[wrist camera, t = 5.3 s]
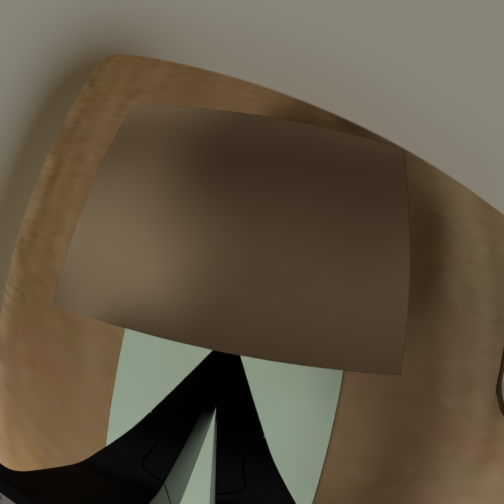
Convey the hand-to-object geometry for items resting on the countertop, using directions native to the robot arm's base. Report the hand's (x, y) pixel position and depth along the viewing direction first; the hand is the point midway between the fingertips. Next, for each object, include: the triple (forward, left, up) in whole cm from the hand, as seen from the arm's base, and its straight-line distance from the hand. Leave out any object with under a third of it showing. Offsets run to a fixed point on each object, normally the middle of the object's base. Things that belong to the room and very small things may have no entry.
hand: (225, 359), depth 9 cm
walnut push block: (+2, -2, -6) cm, 7 cm away
